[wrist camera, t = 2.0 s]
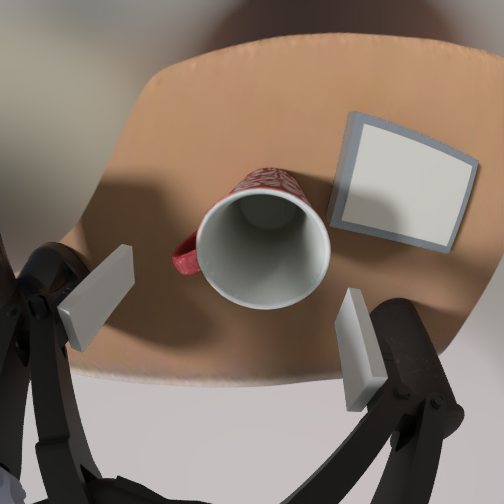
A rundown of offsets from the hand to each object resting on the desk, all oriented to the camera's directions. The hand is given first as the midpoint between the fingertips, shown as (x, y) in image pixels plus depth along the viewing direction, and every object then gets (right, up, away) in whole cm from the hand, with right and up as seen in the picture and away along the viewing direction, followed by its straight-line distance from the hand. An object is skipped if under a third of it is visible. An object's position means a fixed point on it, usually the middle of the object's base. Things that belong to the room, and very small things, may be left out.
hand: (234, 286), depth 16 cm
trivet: (+18, +10, +11) cm, 23 cm away
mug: (+1, +7, +15) cm, 17 cm away
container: (+21, -8, +20) cm, 30 cm away
